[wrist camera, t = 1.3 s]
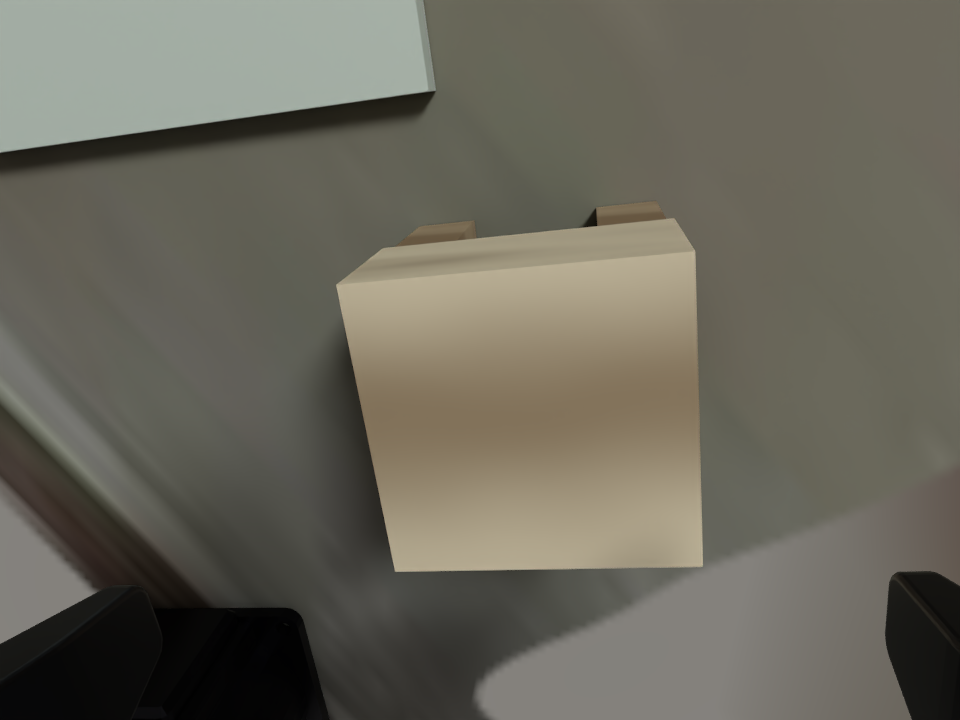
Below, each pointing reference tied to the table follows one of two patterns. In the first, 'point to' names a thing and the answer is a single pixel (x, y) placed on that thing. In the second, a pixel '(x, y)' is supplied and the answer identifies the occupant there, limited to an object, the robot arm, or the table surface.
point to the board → (196, 62)
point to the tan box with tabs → (533, 394)
